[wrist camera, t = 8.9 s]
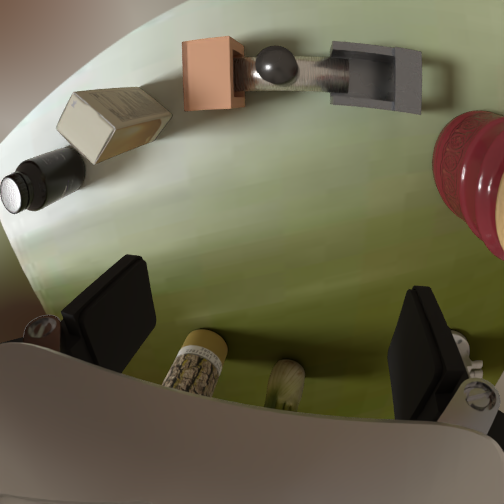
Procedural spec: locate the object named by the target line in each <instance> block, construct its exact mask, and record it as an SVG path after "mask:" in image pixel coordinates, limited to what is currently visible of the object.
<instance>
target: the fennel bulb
mask: <svg viewBox="0 0 504 504" xmlns="http://www.w3.org/2000/svg"><path fill="white" fill-rule="evenodd" d="M304 379H305V371H304V369H303V367H302V366H301V365H300V364H299V363H297V362H295V361H293V360H290V359H282V360H279V361H278V362H277V363H276V364H275V365H274V367H273V369H272V372H271V375H270V378H269V381H268V386H267V394H266V401H265V405H264V407H265V408H271V409H277V410H284V411H292V412H297V409H298V405H299V402H300V400H301V397H302V392H303V387H304Z"/></svg>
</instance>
